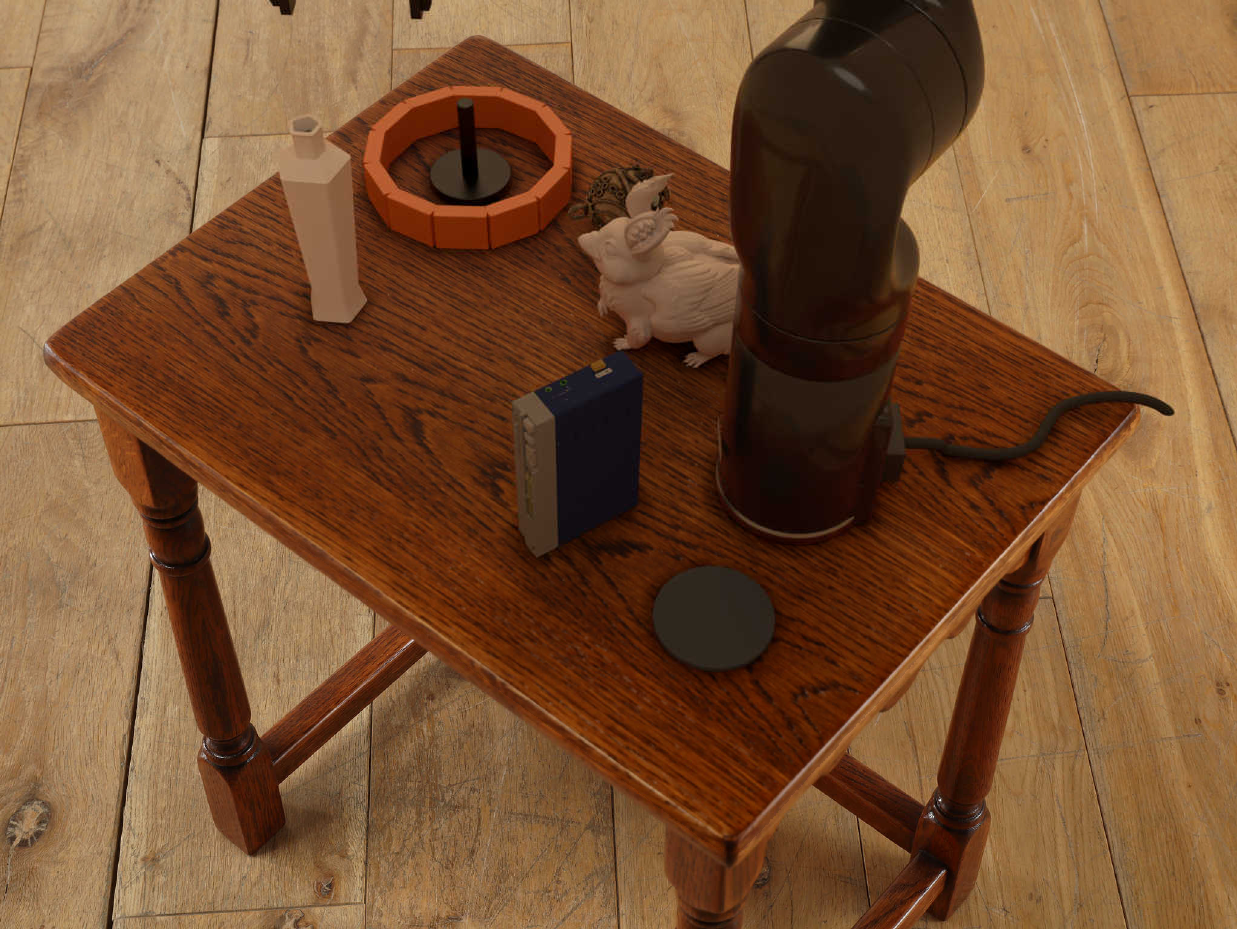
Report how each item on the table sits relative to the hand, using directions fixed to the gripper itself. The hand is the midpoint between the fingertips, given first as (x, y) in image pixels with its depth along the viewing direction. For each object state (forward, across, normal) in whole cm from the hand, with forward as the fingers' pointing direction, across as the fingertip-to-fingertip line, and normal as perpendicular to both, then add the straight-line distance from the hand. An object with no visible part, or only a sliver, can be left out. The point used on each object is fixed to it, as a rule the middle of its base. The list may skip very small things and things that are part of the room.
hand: (354, 10), depth 98 cm
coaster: (+14, +24, -38) cm, 47 cm away
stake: (+14, +7, 0) cm, 16 cm away
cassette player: (+14, +16, -31) cm, 38 cm away
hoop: (+14, +7, 0) cm, 16 cm away
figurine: (+14, +23, -15) cm, 31 cm away
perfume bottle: (+14, -1, -13) cm, 19 cm away
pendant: (+14, +18, -5) cm, 24 cm away
